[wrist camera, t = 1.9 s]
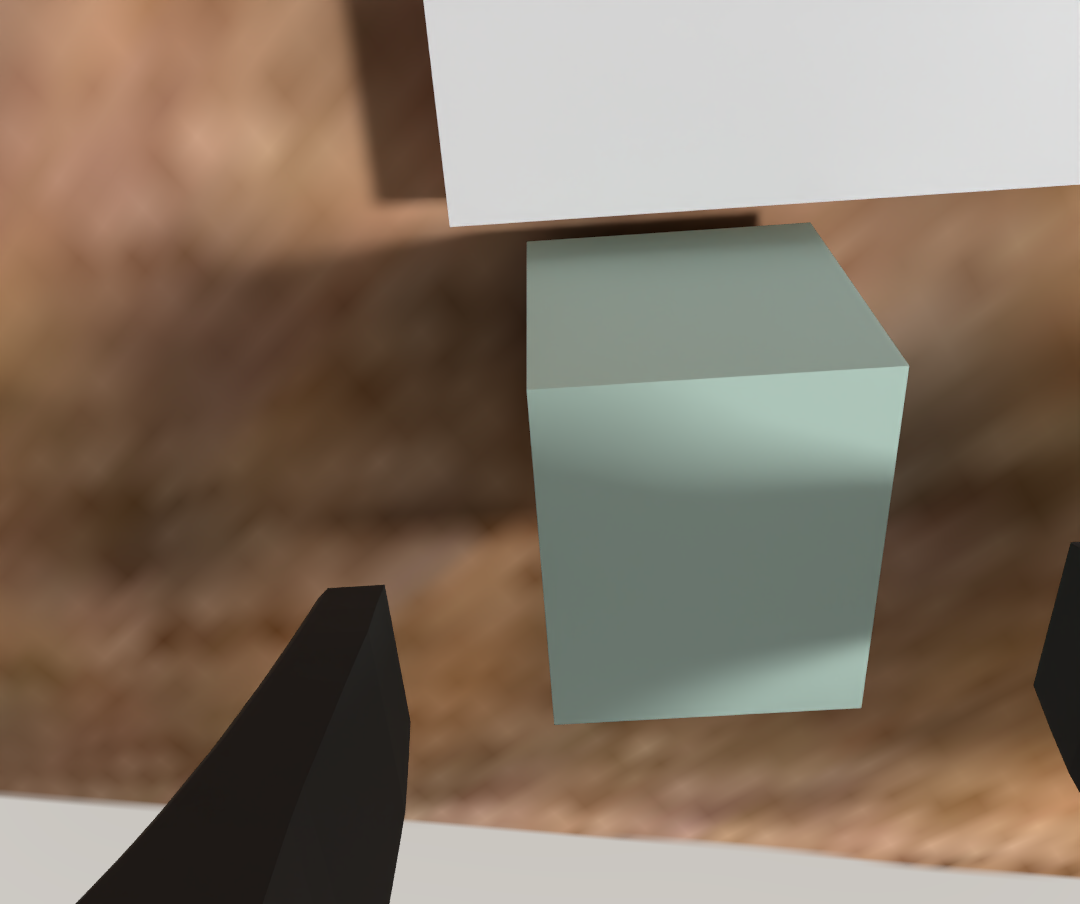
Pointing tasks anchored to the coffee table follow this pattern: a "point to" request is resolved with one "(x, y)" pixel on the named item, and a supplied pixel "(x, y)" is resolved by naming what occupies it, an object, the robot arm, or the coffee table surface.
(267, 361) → the coffee table surface
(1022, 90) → the dock
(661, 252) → the pale green block
